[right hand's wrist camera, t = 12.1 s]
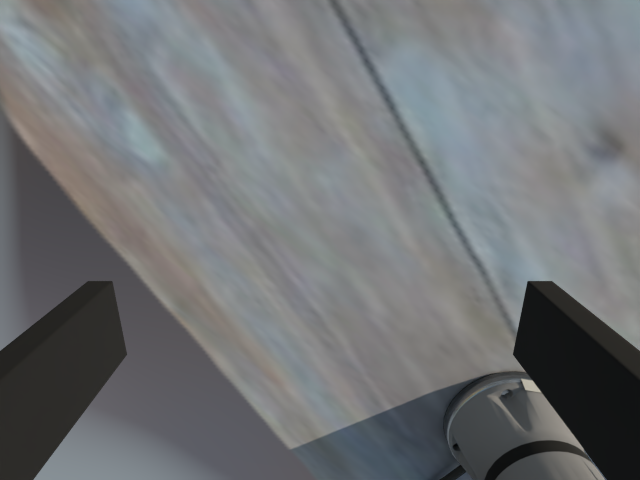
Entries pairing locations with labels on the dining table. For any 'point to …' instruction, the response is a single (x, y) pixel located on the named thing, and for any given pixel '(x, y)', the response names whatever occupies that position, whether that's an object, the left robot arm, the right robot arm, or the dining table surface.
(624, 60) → the dining table surface
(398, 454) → the dining table surface
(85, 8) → the dining table surface
